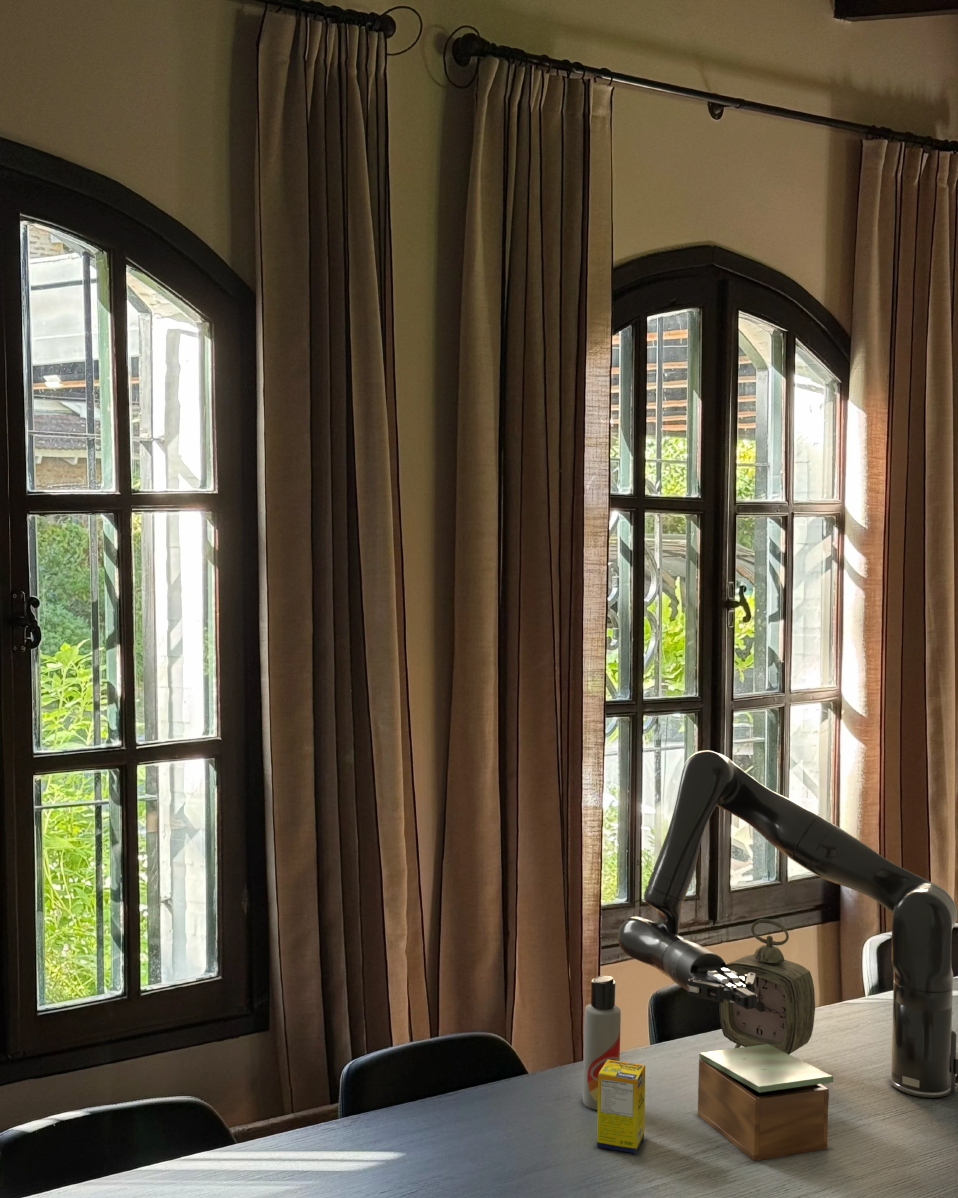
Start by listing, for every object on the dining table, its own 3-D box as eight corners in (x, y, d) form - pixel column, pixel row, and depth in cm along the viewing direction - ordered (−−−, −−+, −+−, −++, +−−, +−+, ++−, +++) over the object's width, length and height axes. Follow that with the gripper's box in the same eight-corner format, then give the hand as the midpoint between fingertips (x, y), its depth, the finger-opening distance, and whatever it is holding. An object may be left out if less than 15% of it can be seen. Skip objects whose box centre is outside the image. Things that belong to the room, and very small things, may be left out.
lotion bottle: (617, 1113, 184) (620, 985, 184) (580, 1109, 185) (583, 981, 185) (620, 1098, 189) (622, 973, 189) (584, 1094, 190) (587, 970, 190)
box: (827, 1149, 173) (829, 1089, 173) (754, 1161, 169) (755, 1100, 169) (766, 1104, 188) (768, 1049, 188) (697, 1115, 184) (698, 1058, 184)
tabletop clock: (717, 1059, 206) (720, 916, 206) (742, 1045, 213) (745, 906, 213) (794, 1083, 197) (798, 933, 197) (818, 1067, 203) (821, 922, 203)
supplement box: (644, 1137, 176) (646, 1064, 176) (636, 1155, 170) (638, 1079, 170) (605, 1130, 178) (607, 1058, 178) (596, 1148, 172) (597, 1073, 172)
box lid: (833, 1082, 173) (833, 1076, 173) (759, 1093, 168) (759, 1086, 168) (768, 1049, 188) (768, 1044, 188) (699, 1058, 184) (698, 1052, 184)
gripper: (659, 949, 195) (715, 982, 179) (729, 942, 200) (789, 974, 184) (658, 994, 195) (714, 1031, 179) (727, 987, 200) (788, 1022, 184)
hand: (752, 1002), depth 181 cm, fingers closed
